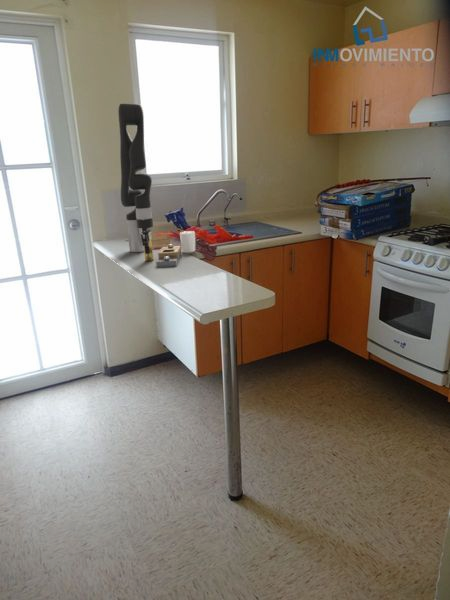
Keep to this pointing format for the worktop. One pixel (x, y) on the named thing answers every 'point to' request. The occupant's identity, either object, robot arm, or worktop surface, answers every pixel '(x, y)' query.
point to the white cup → (187, 241)
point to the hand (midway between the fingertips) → (148, 252)
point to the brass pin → (150, 256)
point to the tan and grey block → (169, 256)
